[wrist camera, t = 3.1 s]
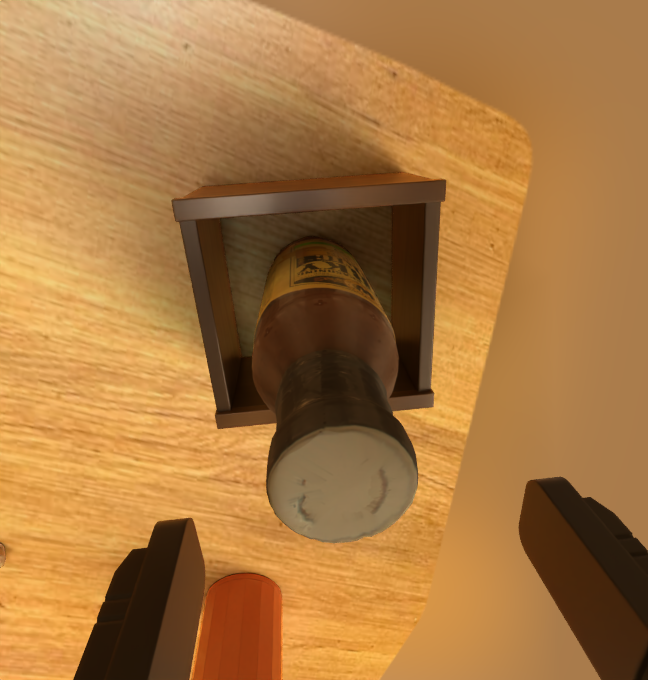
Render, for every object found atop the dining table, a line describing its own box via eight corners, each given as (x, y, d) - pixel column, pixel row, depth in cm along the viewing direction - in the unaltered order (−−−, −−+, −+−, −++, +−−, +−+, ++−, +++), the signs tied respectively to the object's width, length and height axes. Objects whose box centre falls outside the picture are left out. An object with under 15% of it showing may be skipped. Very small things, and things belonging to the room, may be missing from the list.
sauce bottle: (376, 267, 29) (525, 471, 11) (322, 336, 31) (375, 606, 13) (299, 210, 27) (330, 346, 9) (246, 287, 29) (184, 528, 11)
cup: (277, 568, 41) (276, 675, 33) (285, 617, 44) (286, 725, 36) (199, 578, 40) (178, 688, 32) (212, 626, 44) (196, 737, 35)
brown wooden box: (406, 170, 27) (446, 179, 20) (402, 352, 32) (433, 407, 26) (199, 184, 26) (170, 199, 19) (231, 368, 31) (217, 429, 25)
